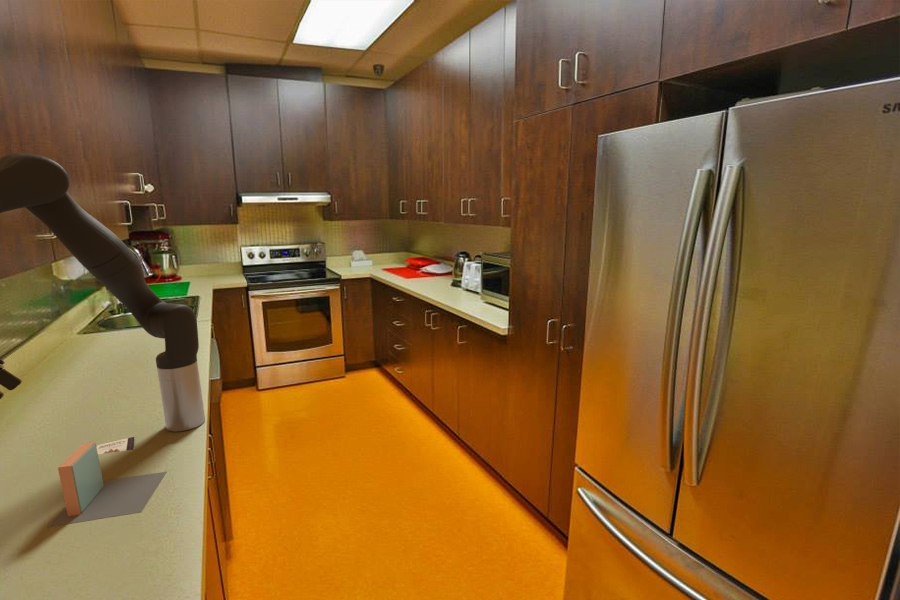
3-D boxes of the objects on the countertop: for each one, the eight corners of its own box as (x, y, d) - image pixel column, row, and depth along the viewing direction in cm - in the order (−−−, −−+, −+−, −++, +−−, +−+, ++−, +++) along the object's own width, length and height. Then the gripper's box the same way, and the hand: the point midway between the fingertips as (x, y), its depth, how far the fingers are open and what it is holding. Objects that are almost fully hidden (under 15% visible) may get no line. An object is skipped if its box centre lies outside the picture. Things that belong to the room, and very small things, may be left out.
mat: (87, 486, 95) (87, 482, 95) (167, 474, 99) (167, 471, 99) (48, 530, 82) (47, 527, 82) (141, 515, 85) (141, 512, 85)
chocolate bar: (79, 483, 96) (89, 446, 110) (79, 487, 96) (90, 450, 111) (130, 469, 100) (134, 436, 115) (131, 473, 100) (134, 440, 115)
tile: (92, 488, 93) (83, 443, 91) (104, 486, 94) (96, 442, 92) (67, 516, 84) (57, 467, 83) (81, 513, 85) (71, 465, 83)
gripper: (-91, 321, 69) (13, 388, 75) (-45, 309, 81) (40, 367, 88) (-141, 357, 67) (-30, 423, 73) (-87, 339, 79) (4, 397, 86)
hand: (8, 392), depth 80 cm, fingers open, 8 cm apart
